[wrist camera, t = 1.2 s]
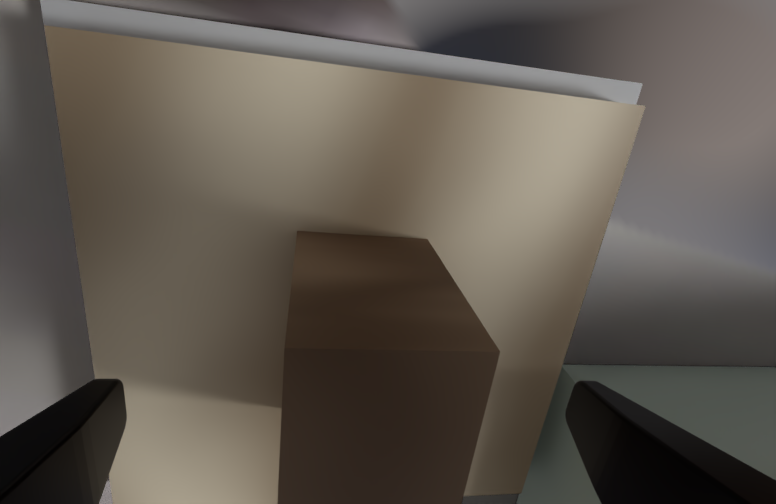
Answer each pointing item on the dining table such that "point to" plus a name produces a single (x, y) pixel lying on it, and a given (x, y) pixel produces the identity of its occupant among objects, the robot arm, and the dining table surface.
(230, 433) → the lid
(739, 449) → the dish
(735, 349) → the dining table surface
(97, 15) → the mat
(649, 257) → the dining table surface
